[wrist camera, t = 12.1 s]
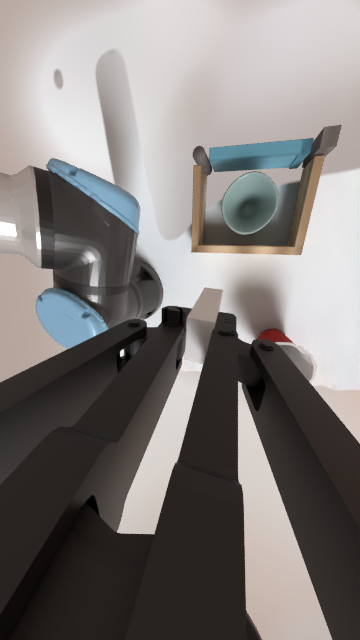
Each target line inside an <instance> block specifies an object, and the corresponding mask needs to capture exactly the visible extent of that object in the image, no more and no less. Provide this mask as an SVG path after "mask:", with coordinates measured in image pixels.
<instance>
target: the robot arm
mask: <svg viewBox="0 0 360 640" xmlns="http://www.w3.org/2000/svg"><path fill="white" fill-rule="evenodd" d="M46 166H47V169H48V170H49V171H46V170H43V169H39V168H36V167H33V166H28V167H26V168H25V169H23V170H22V171H20V172H19V173H17V174H14V175H7V174H3V173H0V253H10V254H20V255H22V256H24V257H25V258H27V259H28V260H29V261H30V262H31V263H32V264H34V265H35V266H36V267H37V268H46V269H53V282H54V287H53V288H49V289H46V290H45V291H44V292H43V293H41V295H39V296H38V298H37V300H36V312H37V316H38V318H39V321H40V322H41V324H42V326H43V327H44V329H45V330H46V332H47V333H48V334H49V335H50V336H51V337H52V338H53V339H54V340H55V341H56V342H57V343H59V344H60V345H62V346H63V347H65V348H67V350H65V351H64V352H61V353H59V354H57V355H55V356H53V357H51V358H49V359H47V360H46V361H43V362H41V363H39V364H37V365H35V366H33V367H31V368H29V369H27V370H25V371H23V372H21V373H19V374H17V375H15V376H13V377H11V378H9V379H7V380H5V381H3V382H0V640H262V639H261V637H260V635H259V633H258V631H257V628H256V627H255V625H254V623H253V622H252V620H251V618H250V616H249V615H248V613H247V611H246V599H245V598H246V597H245V550H244V506H243V491H242V486H241V484H240V483H239V481H238V381H239V382H241V383H242V389H243V392H244V395H245V398H246V400H247V403H248V406H249V409H250V412H251V414H252V417H253V420H254V423H255V425H256V428H257V431H258V434H259V436H260V439H261V442H262V445H263V448H264V450H265V453H266V456H267V459H268V461H269V464H270V467H271V470H272V472H273V476H274V478H275V481H276V484H277V487H278V489H279V492H280V495H281V498H282V501H283V503H284V506H285V509H286V512H287V515H288V517H289V520H290V523H291V525H292V528H293V531H294V534H295V537H296V540H297V542H298V545H299V548H300V550H301V554H302V556H303V559H304V562H305V565H306V567H307V570H308V573H309V576H310V579H311V581H312V584H313V587H314V590H315V592H316V595H317V598H318V601H319V604H320V606H321V609H322V612H323V615H324V618H325V620H326V623H327V626H328V628H329V631H330V634H331V637H332V640H360V444H359V442H358V441H357V440H356V439H355V437H354V436H353V435H352V434H351V433H350V431H349V430H348V429H347V428H346V427H345V425H344V424H343V423H342V422H341V421H340V419H339V418H338V417H337V416H336V414H335V413H334V412H333V411H332V409H331V408H330V407H329V406H328V404H327V403H326V402H325V401H324V400H323V398H322V397H321V396H320V395H319V393H318V392H317V391H316V390H315V389H314V387H313V386H312V385H311V384H310V382H309V381H308V380H307V379H306V378H305V376H304V375H303V374H302V373H301V371H300V370H299V369H298V368H297V367H296V365H295V364H294V363H293V362H292V360H291V359H290V358H289V357H288V356H287V354H286V353H285V352H284V351H283V349H282V348H281V347H280V346H279V345H278V344H276V343H274V342H273V341H270V340H267V339H256V340H253V342H252V344H248V343H246V342H243V341H241V340H240V339H239V338H238V334H237V332H236V317H235V316H234V314H229V313H222V312H220V307H221V301H222V294H223V290H220V289H212V288H204V290H203V292H202V293H201V295H200V297H199V298H198V300H197V302H196V303H195V305H194V307H193V308H192V309H191V308H184V307H183V308H182V307H178V306H167V307H164V308H162V322H161V324H160V325H159V326H158V327H154V328H153V327H147V323H146V321H144V319H146V318H149V317H150V316H152V315H153V314H154V313H155V312H156V311H157V310H158V309H159V307H160V305H161V303H162V299H163V287H162V283H161V281H160V279H159V277H158V275H157V274H156V272H155V271H154V270H153V269H152V268H151V267H150V266H149V265H147V264H146V263H144V262H142V261H139V260H134V256H135V250H136V244H137V237H138V235H139V230H138V227H139V217H140V206H139V203H138V201H137V200H136V199H135V197H134V196H132V195H131V194H130V193H128V192H126V191H125V190H123V189H121V188H119V187H118V186H116V185H114V184H112V183H110V182H107V181H106V180H104V179H102V178H100V177H98V176H96V175H94V174H91V173H89V172H87V171H85V170H82V169H78V168H77V167H75V166H72V165H70V164H68V163H66V162H63V161H61V160H58V159H53V158H52V159H50V160H49V162H48V164H47V165H46ZM122 349H124V356H122V357H120V351H121V350H122ZM183 355H184V360H187V361H192V362H196V363H201V364H203V368H202V371H201V375H200V380H199V383H198V387H197V391H196V395H195V398H194V402H193V406H192V410H191V413H190V417H189V421H188V424H187V428H186V432H185V436H184V440H183V443H182V447H181V451H180V455H179V458H178V461H177V462H176V463H175V465H174V468H173V470H172V474H171V477H170V480H169V484H168V488H167V491H166V495H165V498H164V502H163V505H162V509H161V513H160V517H159V520H158V524H157V527H156V531H155V534H120V533H117V530H118V527H119V524H120V521H121V517H122V513H123V508H124V503H125V500H126V497H127V494H128V491H129V489H130V487H131V484H132V482H133V480H134V477H135V475H136V472H137V470H138V468H139V465H140V463H141V461H142V458H143V456H144V453H145V451H146V448H147V446H148V444H149V442H150V439H151V437H152V434H153V432H154V429H155V427H156V425H157V422H158V420H159V418H160V415H161V413H162V410H163V408H164V406H165V403H166V401H167V399H168V396H169V394H170V391H171V389H172V387H173V384H174V382H175V379H176V377H177V375H178V372H179V370H180V368H181V365H182V357H183Z"/></svg>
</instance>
